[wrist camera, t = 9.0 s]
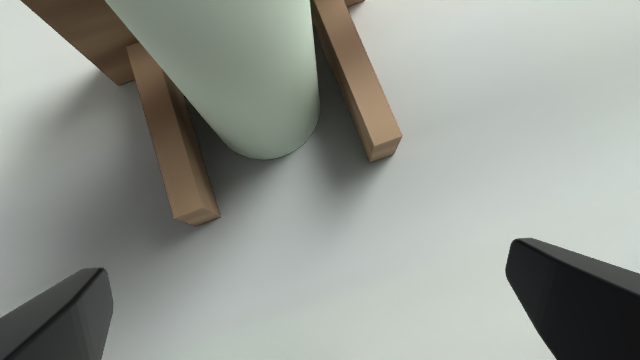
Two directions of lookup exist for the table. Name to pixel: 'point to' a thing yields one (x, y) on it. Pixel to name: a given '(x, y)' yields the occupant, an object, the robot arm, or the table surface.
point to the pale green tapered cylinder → (236, 65)
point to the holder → (169, 104)
